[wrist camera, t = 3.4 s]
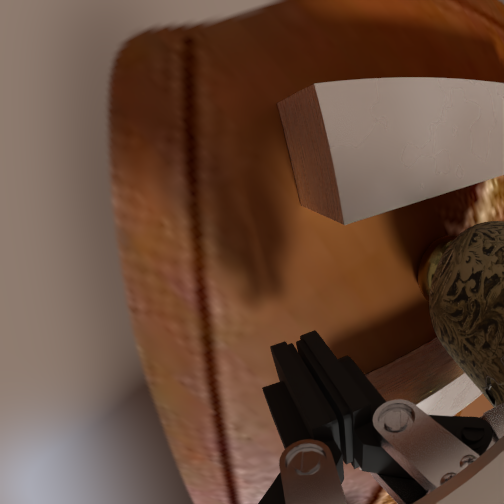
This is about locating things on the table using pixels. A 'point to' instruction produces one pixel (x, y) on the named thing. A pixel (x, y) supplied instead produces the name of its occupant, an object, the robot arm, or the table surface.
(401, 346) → the table surface
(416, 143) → the groove rails
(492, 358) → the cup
